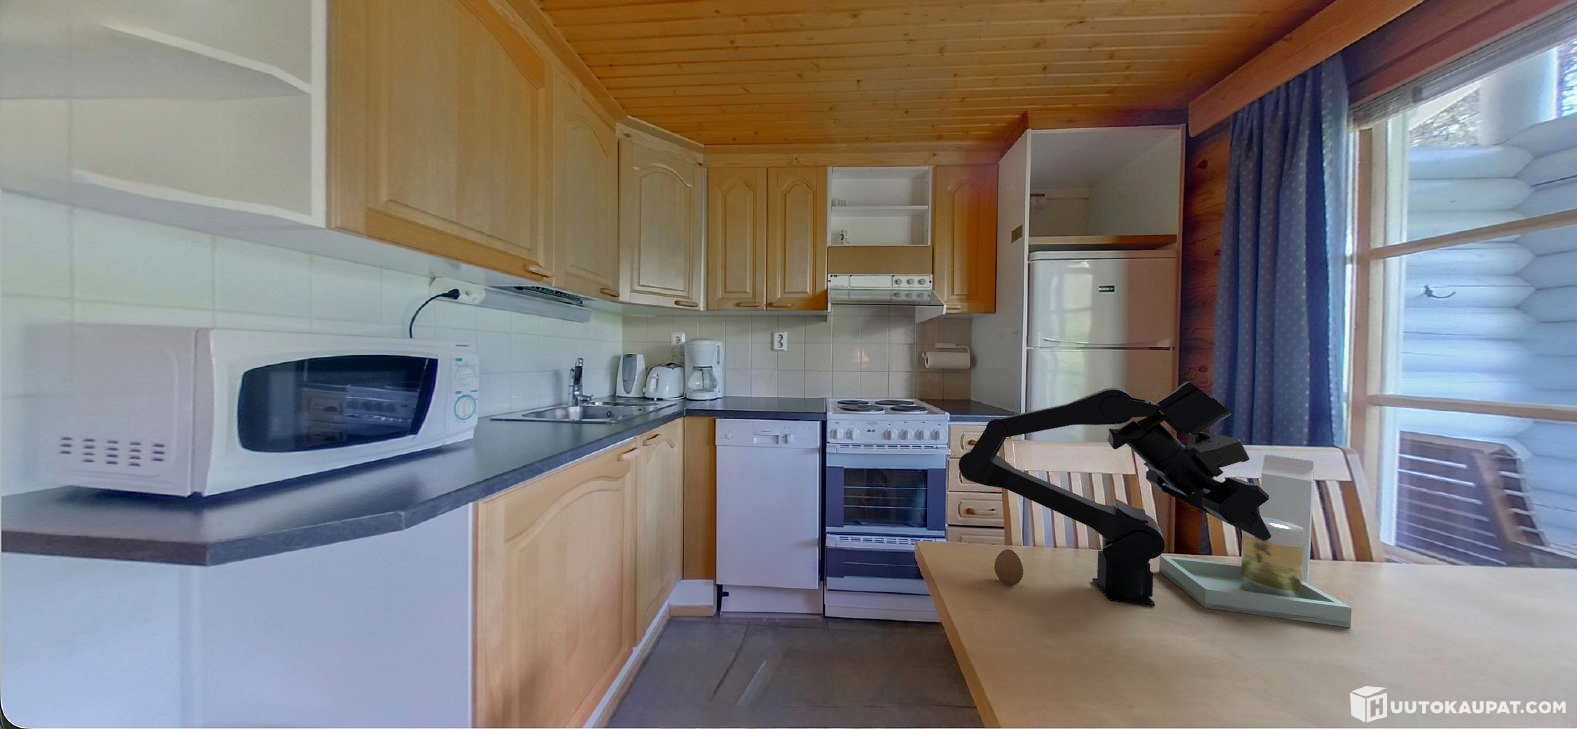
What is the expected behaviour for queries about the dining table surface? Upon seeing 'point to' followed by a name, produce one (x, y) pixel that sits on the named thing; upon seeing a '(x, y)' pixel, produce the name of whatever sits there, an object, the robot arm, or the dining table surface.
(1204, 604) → the pale green tray
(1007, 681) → the dining table surface
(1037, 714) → the dining table surface
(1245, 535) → the tin can
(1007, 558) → the egg
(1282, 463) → the milk
